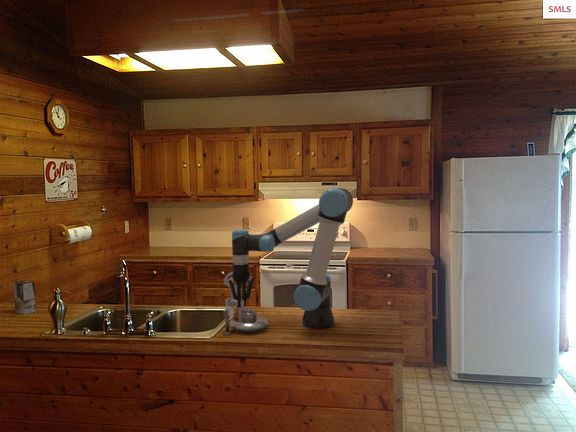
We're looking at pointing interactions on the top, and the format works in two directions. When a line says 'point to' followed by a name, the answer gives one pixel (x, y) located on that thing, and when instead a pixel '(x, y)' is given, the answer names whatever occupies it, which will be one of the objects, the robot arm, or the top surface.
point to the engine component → (230, 301)
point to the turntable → (240, 325)
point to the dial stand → (228, 312)
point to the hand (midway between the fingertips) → (241, 314)
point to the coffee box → (24, 297)
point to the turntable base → (249, 331)
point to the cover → (248, 316)
